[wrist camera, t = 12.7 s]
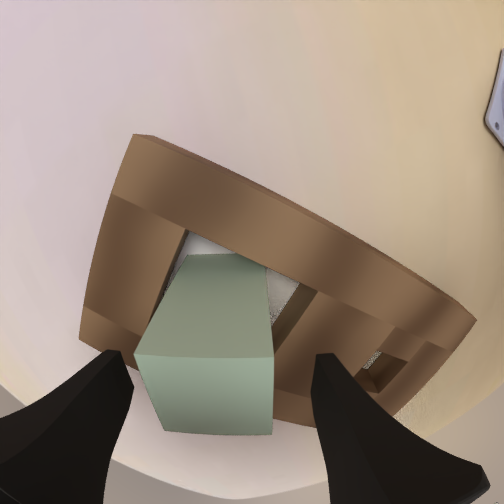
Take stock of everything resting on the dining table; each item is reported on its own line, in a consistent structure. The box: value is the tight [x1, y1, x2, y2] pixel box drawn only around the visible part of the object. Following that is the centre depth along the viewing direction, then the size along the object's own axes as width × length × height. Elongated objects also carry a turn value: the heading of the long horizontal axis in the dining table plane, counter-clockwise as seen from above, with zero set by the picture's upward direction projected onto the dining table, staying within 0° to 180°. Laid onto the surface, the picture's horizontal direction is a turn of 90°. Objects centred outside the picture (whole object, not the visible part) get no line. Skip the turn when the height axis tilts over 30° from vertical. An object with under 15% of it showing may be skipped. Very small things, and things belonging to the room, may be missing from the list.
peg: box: [134, 253, 274, 435], centre depth 12 cm, size 4×4×8 cm
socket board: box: [79, 134, 477, 428], centre depth 15 cm, size 22×12×2 cm, turn 63°
